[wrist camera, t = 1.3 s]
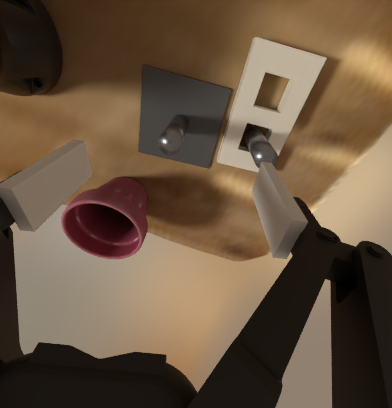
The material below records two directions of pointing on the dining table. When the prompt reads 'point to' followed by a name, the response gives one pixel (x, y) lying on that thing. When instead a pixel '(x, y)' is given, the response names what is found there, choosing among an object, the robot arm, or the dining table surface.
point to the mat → (184, 105)
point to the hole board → (273, 119)
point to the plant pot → (108, 219)
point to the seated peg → (259, 147)
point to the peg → (173, 135)
